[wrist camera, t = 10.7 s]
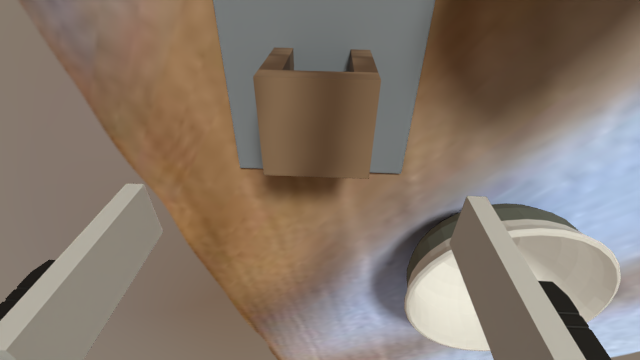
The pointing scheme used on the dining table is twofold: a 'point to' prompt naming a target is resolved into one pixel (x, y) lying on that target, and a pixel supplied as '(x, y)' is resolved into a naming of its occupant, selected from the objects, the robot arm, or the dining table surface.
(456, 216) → the bowl
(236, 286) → the dining table surface
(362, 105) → the notched open box
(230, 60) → the mat
